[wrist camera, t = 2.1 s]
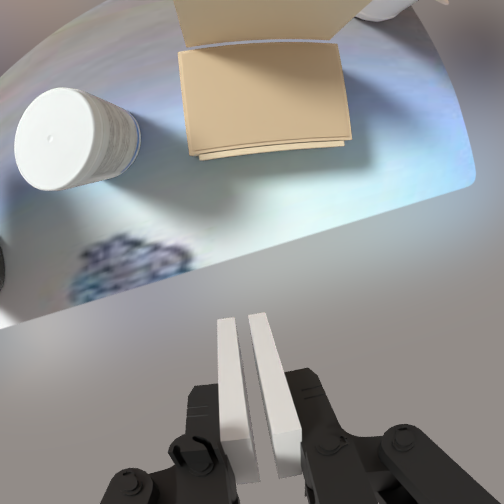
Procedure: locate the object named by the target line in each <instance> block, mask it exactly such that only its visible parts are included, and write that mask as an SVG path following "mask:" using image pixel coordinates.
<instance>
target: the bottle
mask: <svg viewBox="0 0 504 504" xmlns="http://www.w3.org/2000/svg"><path fill="white" fill-rule="evenodd" d="M417 1H419V0H372V1H371V2H370V3H369V4H368V5H367V6H366V7H365V8H363V9H362V10H361V11H360V12H359V13H358V14H357V15H356V16H355V17H358V18H360V19H363V20H368V21H375V22H380V21H384V20H389V19H391V18H394V17H395V16H396V15H398V14H399V13H400V12H401V11H403V10H404V9H406V8H407V7H409V6H411V5H412V4H414V3H415V2H417Z"/></svg>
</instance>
